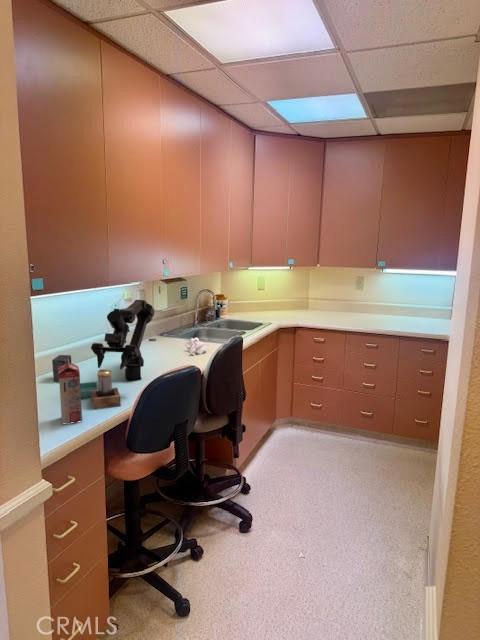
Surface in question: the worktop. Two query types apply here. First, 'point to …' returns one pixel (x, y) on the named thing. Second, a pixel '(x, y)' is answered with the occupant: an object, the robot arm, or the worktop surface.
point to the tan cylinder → (105, 383)
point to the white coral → (195, 343)
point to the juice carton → (70, 393)
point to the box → (59, 365)
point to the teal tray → (88, 389)
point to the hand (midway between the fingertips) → (109, 368)
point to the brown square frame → (105, 399)
